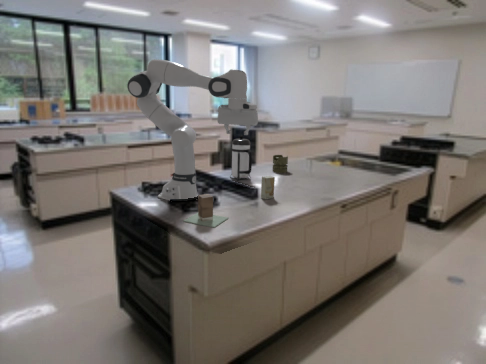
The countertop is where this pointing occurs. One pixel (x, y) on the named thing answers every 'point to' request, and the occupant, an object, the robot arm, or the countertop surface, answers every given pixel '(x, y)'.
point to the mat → (211, 223)
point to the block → (205, 207)
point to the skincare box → (267, 187)
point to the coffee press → (241, 158)
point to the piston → (280, 164)
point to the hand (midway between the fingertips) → (237, 134)
